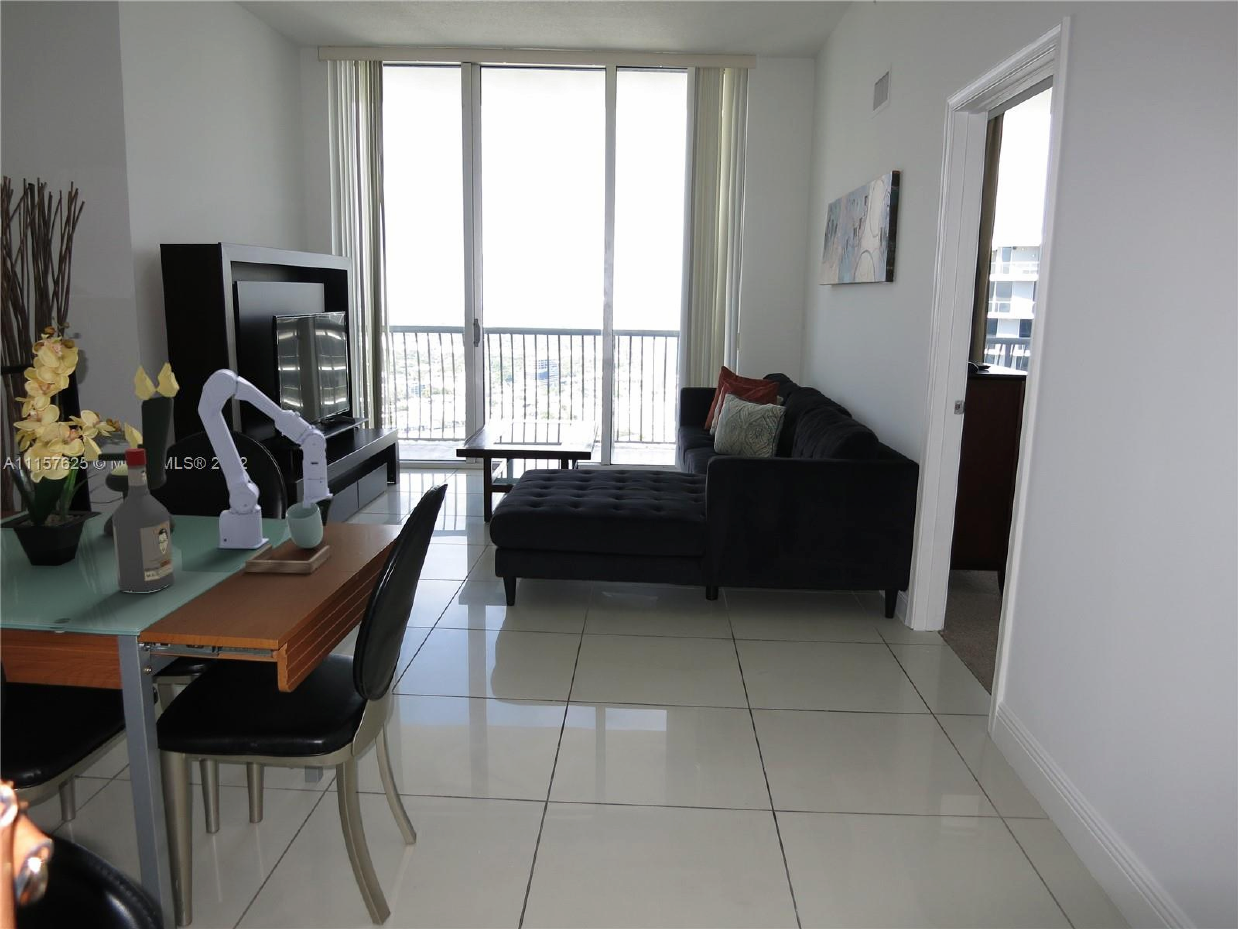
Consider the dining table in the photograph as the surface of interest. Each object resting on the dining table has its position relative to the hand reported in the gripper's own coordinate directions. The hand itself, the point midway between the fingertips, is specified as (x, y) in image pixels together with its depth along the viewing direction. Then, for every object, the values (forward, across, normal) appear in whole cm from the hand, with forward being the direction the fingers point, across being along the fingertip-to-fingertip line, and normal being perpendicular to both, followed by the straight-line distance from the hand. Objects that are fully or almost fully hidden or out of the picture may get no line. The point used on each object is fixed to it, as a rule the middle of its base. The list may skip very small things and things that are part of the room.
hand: (317, 529), depth 225 cm
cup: (+2, -7, 0) cm, 7 cm away
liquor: (+3, -38, +24) cm, 45 cm away
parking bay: (+3, -20, 0) cm, 20 cm away
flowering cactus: (+3, +5, +46) cm, 46 cm away
